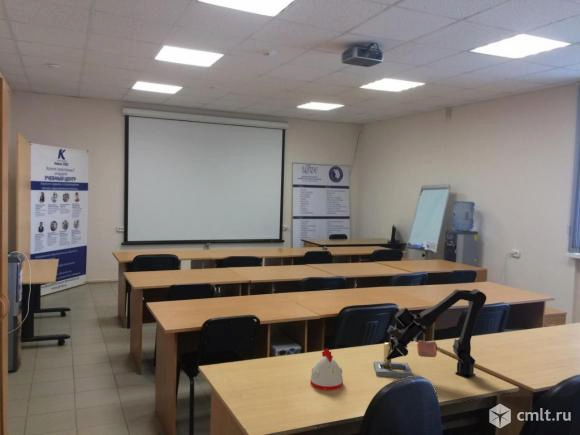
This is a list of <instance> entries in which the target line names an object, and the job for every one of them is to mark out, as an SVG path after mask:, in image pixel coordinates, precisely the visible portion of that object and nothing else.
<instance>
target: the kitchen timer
mask: <svg viewBox="0 0 580 435" xmlns="http://www.w3.org/2000/svg"><path fill="white" fill-rule="evenodd" d="M321 355H322V357H321V358H319V359H318V360H317V361H316V363H315V364H314V366H313V367H311V375H310V385H311V386H312V387H313V388H314V389H317V388H318V389H317V390H321V391H336V390H338V389H341V388H342V387H343V386H344V385H343V384H344V379H343V368H342V367H341V366H340V365H339V364H338V362H337V360H335V358H333V357H334V355H332V351H330V349H328V348H325V349H324V350H323V351H321Z"/></svg>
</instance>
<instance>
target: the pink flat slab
mask: <svg viewBox="0 0 580 435" xmlns="http://www.w3.org/2000/svg"><path fill="white" fill-rule="evenodd" d="M417 343H418V344H416V348H417V355H418V356H419V357H425V358H436V356H437V343H436V341H427V340H421V339H419V340H417Z"/></svg>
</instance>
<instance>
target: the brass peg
mask: <svg viewBox="0 0 580 435" xmlns="http://www.w3.org/2000/svg"><path fill="white" fill-rule="evenodd" d="M389 342H390V341H389ZM389 342H387V341H385V342H383V362H384V363H383V367H382V368H381V369H388V370H393V369H394V368H392V367H391V362H392V359H390V360H387V359H386V358H387V356H388V355H389V354H390V353H391V351H392V343H389Z"/></svg>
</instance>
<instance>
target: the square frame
mask: <svg viewBox="0 0 580 435" xmlns="http://www.w3.org/2000/svg"><path fill="white" fill-rule="evenodd" d="M383 363H384V361H376V360H375V361H373V369H374V373H375V376H376V377H394V378H409V377H408V376H412V377H413V370H412V369H411V367H410V365H409V363H408V362H394V361H391V367H392V368H393V369H395V370H388V369H382V367H383ZM396 369H401V370H396Z"/></svg>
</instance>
